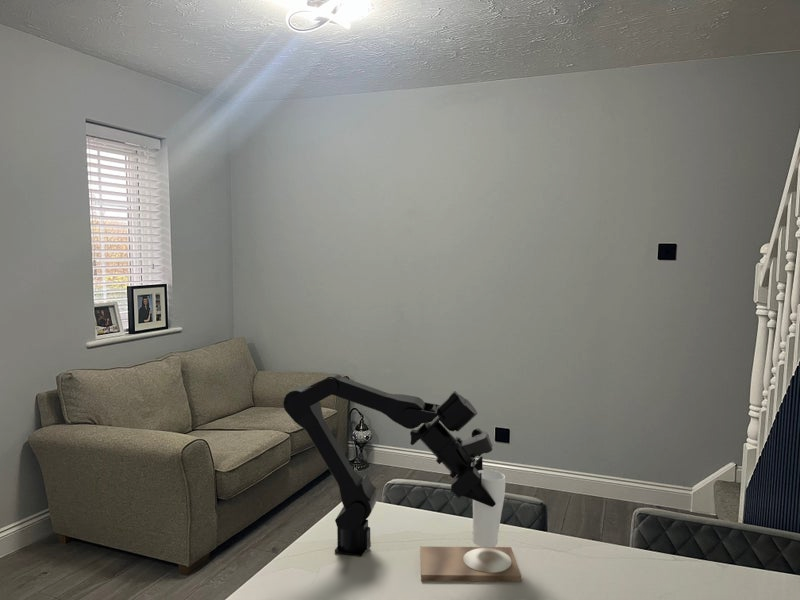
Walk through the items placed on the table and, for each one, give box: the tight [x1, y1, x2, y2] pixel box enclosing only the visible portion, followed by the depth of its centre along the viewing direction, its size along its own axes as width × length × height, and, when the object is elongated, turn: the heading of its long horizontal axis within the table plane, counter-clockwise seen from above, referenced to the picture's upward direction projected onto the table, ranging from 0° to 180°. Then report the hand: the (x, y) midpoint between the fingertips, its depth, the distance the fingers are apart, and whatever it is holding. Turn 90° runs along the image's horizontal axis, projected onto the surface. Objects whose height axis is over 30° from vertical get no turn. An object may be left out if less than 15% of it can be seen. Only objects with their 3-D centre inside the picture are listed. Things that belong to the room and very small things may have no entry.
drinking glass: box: [471, 469, 506, 548], centre depth 128 cm, size 7×7×15 cm
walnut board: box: [419, 546, 522, 583], centre depth 125 cm, size 20×12×1 cm, turn 89°
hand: (494, 498), depth 127 cm, fingers closed on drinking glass, 7 cm apart
